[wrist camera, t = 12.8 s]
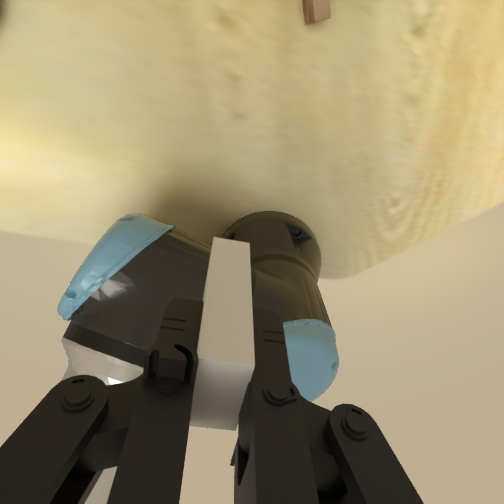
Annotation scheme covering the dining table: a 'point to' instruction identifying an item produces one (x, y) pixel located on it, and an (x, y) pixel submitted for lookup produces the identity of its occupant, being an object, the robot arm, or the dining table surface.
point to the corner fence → (316, 10)
